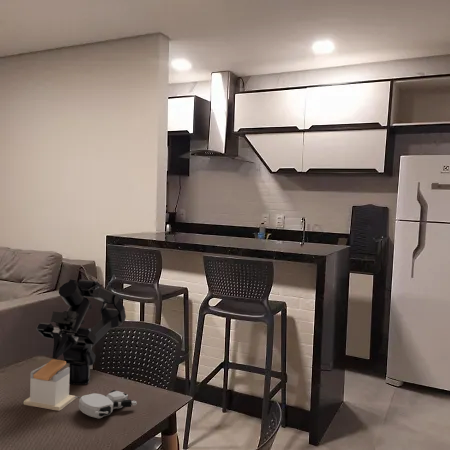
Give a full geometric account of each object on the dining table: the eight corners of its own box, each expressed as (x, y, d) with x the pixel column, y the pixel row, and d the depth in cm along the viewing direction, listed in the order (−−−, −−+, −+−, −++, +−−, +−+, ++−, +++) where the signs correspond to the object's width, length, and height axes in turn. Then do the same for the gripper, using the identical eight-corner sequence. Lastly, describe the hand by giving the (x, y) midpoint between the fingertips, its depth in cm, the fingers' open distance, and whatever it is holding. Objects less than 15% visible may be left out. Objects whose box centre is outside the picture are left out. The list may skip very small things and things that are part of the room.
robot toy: (115, 398, 138) (71, 410, 127) (117, 384, 138) (72, 394, 127) (138, 413, 129) (92, 426, 119) (140, 398, 129) (94, 410, 119)
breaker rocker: (52, 364, 136) (52, 359, 136) (66, 366, 135) (66, 361, 135) (34, 380, 128) (33, 375, 127) (48, 382, 127) (47, 377, 126)
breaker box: (40, 393, 137) (41, 362, 137) (75, 398, 134) (75, 367, 134) (23, 404, 129) (24, 372, 129) (59, 410, 127) (60, 377, 126)
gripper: (39, 297, 140) (14, 342, 130) (91, 303, 135) (69, 350, 125) (55, 315, 148) (33, 358, 138) (104, 321, 143) (85, 366, 133)
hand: (54, 358), depth 133 cm, fingers closed
